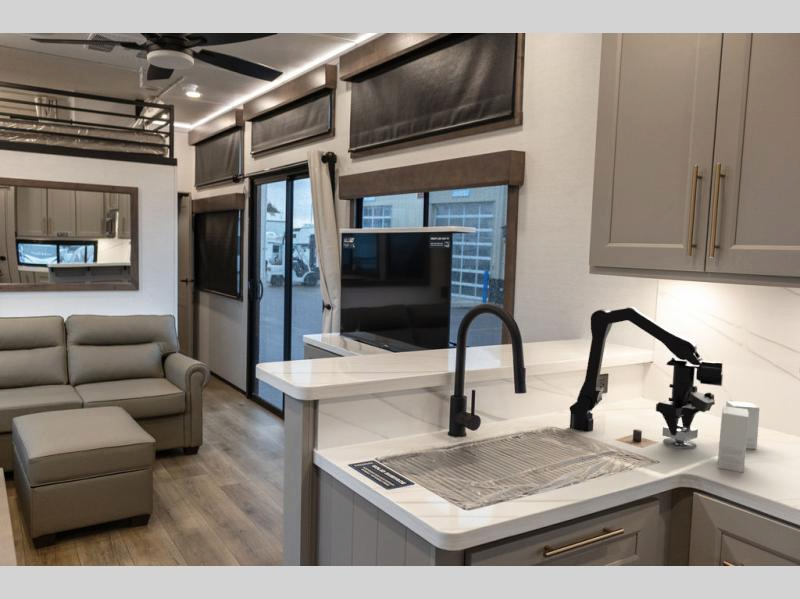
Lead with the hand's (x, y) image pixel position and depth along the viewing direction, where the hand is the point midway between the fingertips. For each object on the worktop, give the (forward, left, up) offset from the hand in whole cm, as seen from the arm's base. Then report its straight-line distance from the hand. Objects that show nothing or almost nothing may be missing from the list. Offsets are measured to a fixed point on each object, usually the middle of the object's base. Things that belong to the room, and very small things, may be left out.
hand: (679, 433), depth 188 cm
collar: (0, 0, -1) cm, 1 cm away
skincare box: (+17, -4, -5) cm, 18 cm away
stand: (-9, -8, -4) cm, 13 cm away
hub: (0, 0, -4) cm, 4 cm away
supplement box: (+9, +19, -5) cm, 22 cm away
